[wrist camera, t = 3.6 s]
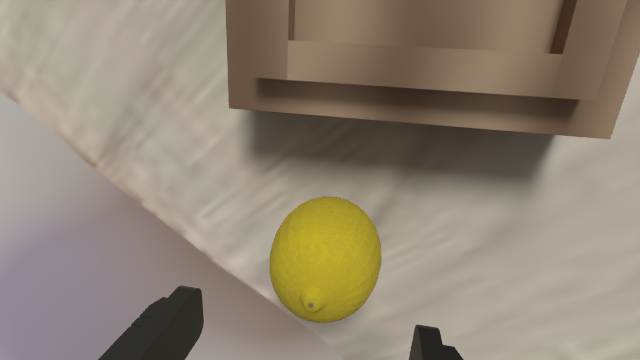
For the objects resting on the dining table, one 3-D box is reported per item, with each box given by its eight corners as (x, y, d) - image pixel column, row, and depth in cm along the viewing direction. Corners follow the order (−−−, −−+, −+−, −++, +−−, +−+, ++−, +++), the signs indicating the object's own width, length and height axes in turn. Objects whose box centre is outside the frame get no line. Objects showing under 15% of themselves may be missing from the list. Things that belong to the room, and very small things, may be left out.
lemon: (333, 159, 20) (304, 217, 13) (400, 222, 21) (411, 313, 13) (275, 218, 22) (220, 299, 14) (338, 274, 22) (316, 379, 15)
